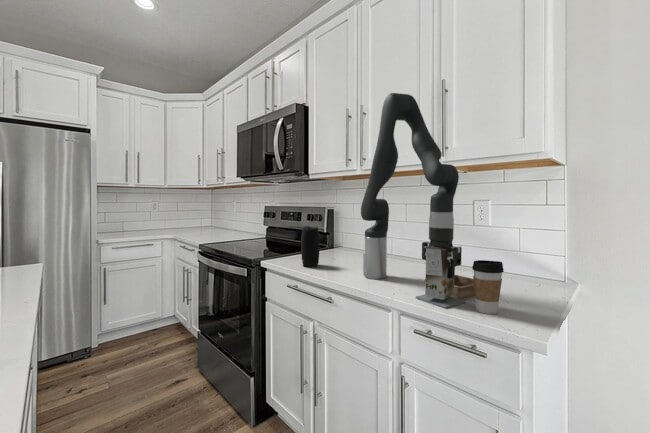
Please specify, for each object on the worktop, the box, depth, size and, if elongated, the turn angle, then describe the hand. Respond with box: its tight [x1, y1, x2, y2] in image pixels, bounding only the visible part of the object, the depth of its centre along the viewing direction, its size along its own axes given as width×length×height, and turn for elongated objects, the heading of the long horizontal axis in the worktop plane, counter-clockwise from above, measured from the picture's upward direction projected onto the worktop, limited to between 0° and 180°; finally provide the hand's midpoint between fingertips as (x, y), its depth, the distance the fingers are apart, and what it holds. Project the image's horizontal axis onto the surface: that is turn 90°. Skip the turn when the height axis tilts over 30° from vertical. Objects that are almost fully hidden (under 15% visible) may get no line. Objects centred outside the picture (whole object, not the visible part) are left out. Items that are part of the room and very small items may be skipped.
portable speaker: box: [300, 225, 320, 268], centre depth 161 cm, size 9×9×20 cm
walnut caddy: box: [450, 274, 475, 300], centre depth 117 cm, size 12×14×4 cm
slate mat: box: [415, 293, 467, 310], centre depth 107 cm, size 12×10×1 cm
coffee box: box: [424, 245, 456, 300], centre depth 107 cm, size 9×6×16 cm
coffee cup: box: [471, 259, 505, 315], centre depth 97 cm, size 8×8×15 cm
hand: (440, 275), depth 107 cm, fingers closed on coffee box, 7 cm apart
